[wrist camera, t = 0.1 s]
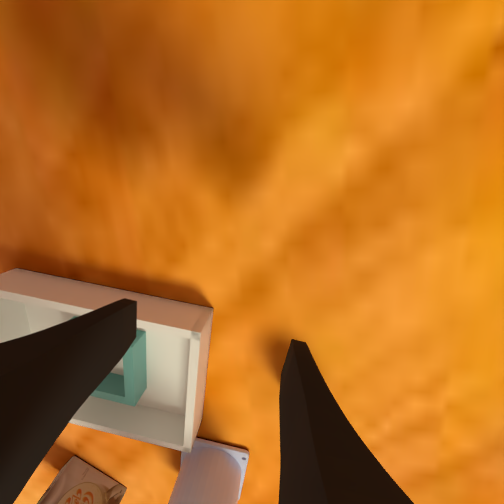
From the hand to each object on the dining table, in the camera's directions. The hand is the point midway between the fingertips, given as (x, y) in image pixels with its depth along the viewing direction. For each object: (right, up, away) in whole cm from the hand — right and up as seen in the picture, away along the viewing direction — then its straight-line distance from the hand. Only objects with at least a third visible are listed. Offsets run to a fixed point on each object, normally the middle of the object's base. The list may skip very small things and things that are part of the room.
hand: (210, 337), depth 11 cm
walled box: (-13, -6, +15) cm, 20 cm away
